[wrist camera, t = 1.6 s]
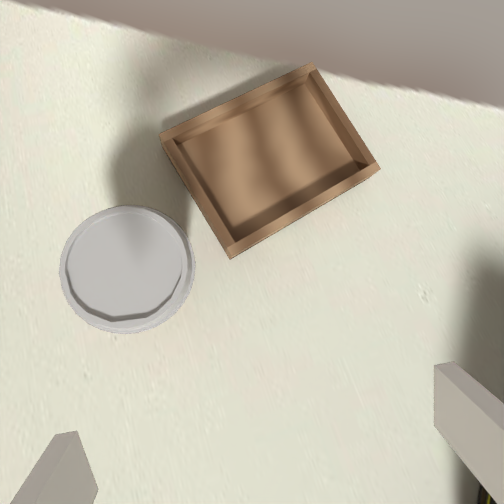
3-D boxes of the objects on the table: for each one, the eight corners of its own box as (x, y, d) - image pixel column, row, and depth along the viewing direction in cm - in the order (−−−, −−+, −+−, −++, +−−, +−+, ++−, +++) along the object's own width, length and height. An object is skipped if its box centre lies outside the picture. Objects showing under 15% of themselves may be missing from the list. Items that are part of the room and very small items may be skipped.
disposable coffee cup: (90, 301, 32) (23, 303, 20) (132, 220, 34) (92, 178, 22) (176, 336, 33) (159, 357, 21) (212, 254, 35) (215, 232, 23)
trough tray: (304, 79, 40) (312, 61, 37) (367, 178, 39) (380, 168, 36) (162, 147, 36) (158, 134, 33) (229, 259, 35) (232, 256, 32)
